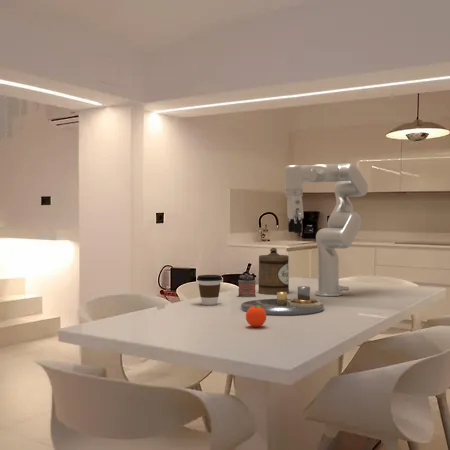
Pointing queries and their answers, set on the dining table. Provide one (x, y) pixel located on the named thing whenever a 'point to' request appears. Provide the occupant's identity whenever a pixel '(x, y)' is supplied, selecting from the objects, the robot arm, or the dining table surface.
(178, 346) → the dining table surface
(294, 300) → the gear
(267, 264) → the wooden container
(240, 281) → the lighter
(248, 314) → the clementine
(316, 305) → the carrier plate
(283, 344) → the dining table surface
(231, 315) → the dining table surface
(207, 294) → the coffee cup
